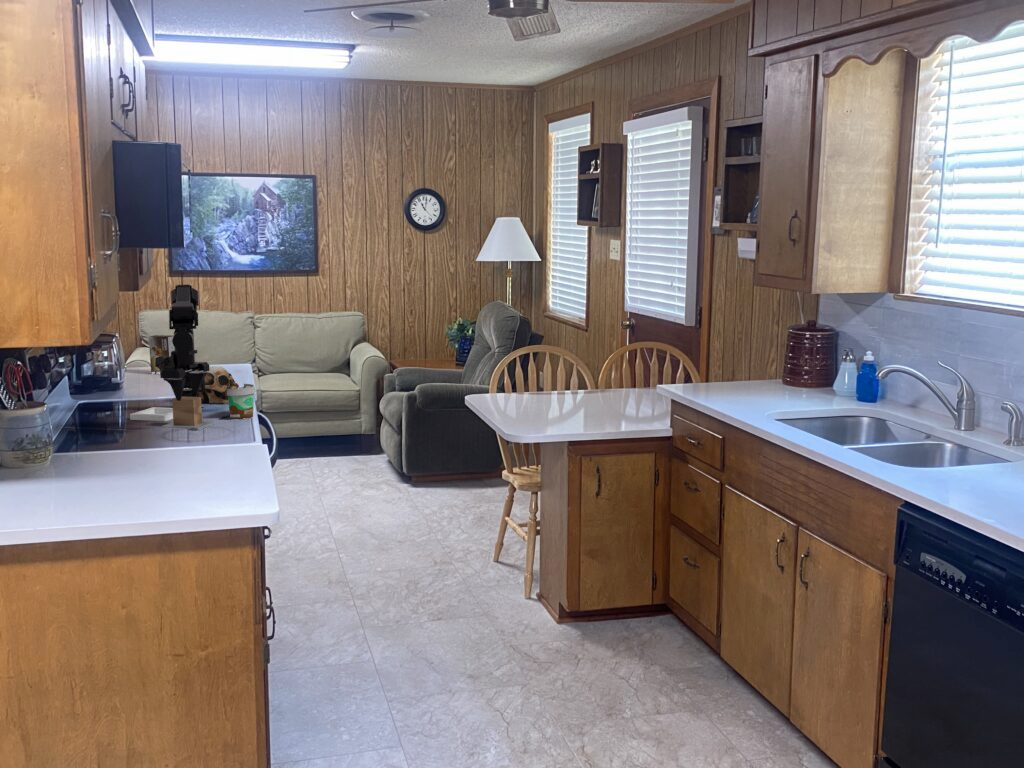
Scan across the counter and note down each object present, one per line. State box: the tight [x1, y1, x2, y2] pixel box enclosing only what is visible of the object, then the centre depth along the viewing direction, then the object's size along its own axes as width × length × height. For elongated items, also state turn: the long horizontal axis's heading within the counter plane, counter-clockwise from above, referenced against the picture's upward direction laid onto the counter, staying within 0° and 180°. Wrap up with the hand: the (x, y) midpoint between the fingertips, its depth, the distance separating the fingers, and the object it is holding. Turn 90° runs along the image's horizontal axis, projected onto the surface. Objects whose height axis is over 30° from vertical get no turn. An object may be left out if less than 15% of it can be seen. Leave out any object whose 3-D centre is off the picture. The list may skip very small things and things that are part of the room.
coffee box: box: [148, 334, 175, 373], centre depth 413 cm, size 9×6×16 cm
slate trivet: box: [161, 420, 215, 431], centre depth 301 cm, size 10×12×1 cm
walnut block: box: [171, 397, 203, 426], centre depth 300 cm, size 4×7×8 cm, turn 78°
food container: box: [227, 383, 257, 420], centre depth 316 cm, size 12×6×10 cm, turn 168°
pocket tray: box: [129, 406, 173, 422], centre depth 314 cm, size 13×12×2 cm
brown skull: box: [188, 366, 240, 404], centre depth 346 cm, size 16×17×13 cm
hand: (186, 398), depth 300 cm, fingers open, 9 cm apart
